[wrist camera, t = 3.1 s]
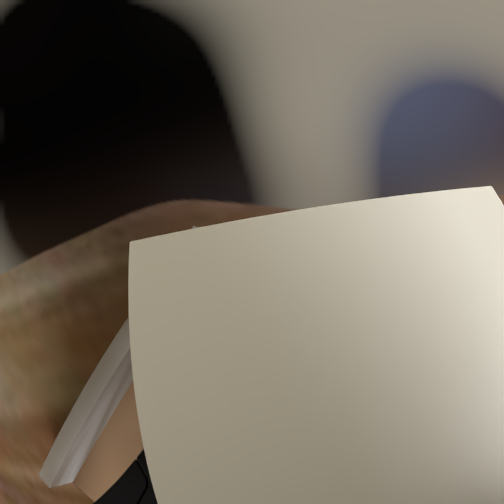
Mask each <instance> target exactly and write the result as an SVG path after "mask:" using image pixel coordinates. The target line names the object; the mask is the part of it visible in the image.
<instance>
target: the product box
mask: <svg viewBox="0 0 504 504" xmlns="http://www.w3.org/2000/svg"><path fill="white" fill-rule="evenodd" d="M128 304H129V334H130V350H131V363H132V374H133V383H134V392H135V399H136V407H137V413H138V420H139V426H140V431H141V437H142V442H143V447H144V452H145V456H146V461H147V465H148V470H149V474H150V478H151V482H152V485H153V489H154V493H155V496H156V499H157V503H158V504H504V205H503V204H502V202H501V200H500V199H499V197H498V196H497V194H496V192H495V191H494V189H493V188H492V186H486V187H475V188H464V189H454V190H444V191H435V192H426V193H417V194H408V195H400V196H392V197H384V198H377V199H369V200H362V201H355V202H347V203H341V204H334V205H328V206H320V207H314V208H308V209H302V210H295V211H289V212H283V213H277V214H271V215H265V216H259V217H253V218H248V219H242V220H237V221H231V222H226V223H220V224H215V225H210V226H204V227H199V228H194V229H189V230H184V231H179V232H174V233H169V234H164V235H159V236H155V237H150V238H145V239H141V240H136V241H131V242H130V246H129V276H128Z"/></svg>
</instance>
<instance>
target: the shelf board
mask: <svg viewBox="0 0 504 504" xmlns="http://www.w3.org/2000/svg"><path fill="white" fill-rule="evenodd" d="M194 228H199V227H196V226H193V227H192V229H194ZM143 449H144V447H143V442H142V437H141V431H140V426H139V420H138V413H137V407H136V399H135V392H134V383H133V374H132V363H131V350H130V334H129V316H128V318H127V319H126V321H125V322H124V324H123V325H122V327H121V328H120V330H119V332H118V333H117V335H116V336H115V338H114V339H113V341H112V342H111V344H110V346H109V347H108V349H107V350H106V352H105V354H104V355H103V357H102V358H101V360H100V362H99V363H98V365H97V367H96V368H95V370H94V372H93V373H92V375H91V377H90V378H89V380H88V382H87V383H86V385H85V387H84V388H83V390H82V392H81V394H80V395H79V397H78V399H77V401H76V403H75V404H74V406H73V408H72V410H71V412H70V413H69V415H68V417H67V419H66V421H65V423H64V425H63V426H62V428H61V430H60V432H59V434H58V436H57V438H56V440H55V442H54V444H53V446H52V448H51V450H50V452H49V454H48V456H47V458H46V460H45V462H44V465H43V467H42V469H41V471H40V473H39V476H40V478H41V479H42V480H43V481H44V482H45V483H46V484H47V485H48V487H49V488H52V487H56V486H60V485H64V484H68V483H72V482H73V483H74V484H75V485H76V486H77V487H78V488H79V489H80V490H82V491H83V492H84V493H85V494H86V495H87V496H88V497H89V498H91V499H92V500H93V501H94V502H95V501H96V500H97V499H99V498H100V497H101V496H102V495H103V494H104V493H105V492H106V491H107V490H108V489H109V488H110V487H111V486H112V485H113V484H114V483H115V482H116V481H117V480H118V479H119V478H120V477H121V476H122V474H123V473H124V472H125V471H126V470H127V469H128V467H129V466H130V465H131V464H132V462H133V461H134V460H135V459H136V460H137V456H138V455H139V454H140V452H141V451H142V450H143Z"/></svg>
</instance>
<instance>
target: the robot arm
mask: <svg viewBox="0 0 504 504" xmlns="http://www.w3.org/2000/svg"><path fill="white" fill-rule="evenodd" d="M93 504H158V503H157V499H156V496H155V493H154V489H153V485H152V482H151V478H150V474H149V470H148V465H147V461H146V456H145V452H144V449H143V450H142V451H141V452H140V454H139V455H138V456H137V460H136V459H135V460H134V461H133V462H132V464H131V465H130V466H129V467H128V469H127V470H126V471H125V472H124V473H123V474H122V476H121V477H120V478H119V479H118V480H117V481H116V482H115V483H114V484H113V485H112V486H111V487H110V488H109V489H108V490H107V491H106V492H105V493H104V494H103V495H102V496H101V497H100V498H99V499H97V500H96V501H95V502H94V503H93Z"/></svg>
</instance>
